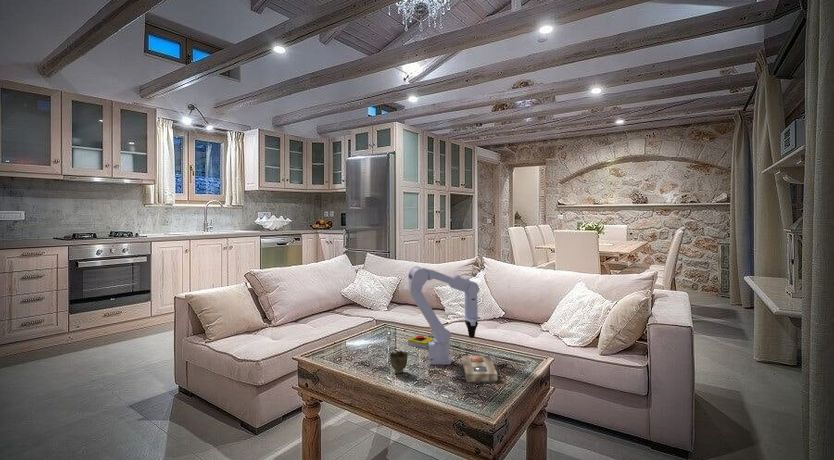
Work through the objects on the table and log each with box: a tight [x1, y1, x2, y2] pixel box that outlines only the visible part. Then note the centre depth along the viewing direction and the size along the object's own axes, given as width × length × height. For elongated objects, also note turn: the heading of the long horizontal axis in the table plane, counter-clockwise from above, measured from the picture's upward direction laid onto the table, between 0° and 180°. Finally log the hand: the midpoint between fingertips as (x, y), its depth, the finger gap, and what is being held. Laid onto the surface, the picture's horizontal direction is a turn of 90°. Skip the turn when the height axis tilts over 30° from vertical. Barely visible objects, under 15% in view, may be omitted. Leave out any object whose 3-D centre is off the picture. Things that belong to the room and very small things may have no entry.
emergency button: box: [407, 334, 434, 350], centre depth 201 cm, size 9×4×15 cm
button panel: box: [461, 355, 499, 383], centre depth 164 cm, size 12×20×3 cm, turn 178°
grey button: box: [475, 366, 486, 372], centre depth 159 cm, size 4×4×3 cm
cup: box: [389, 350, 408, 374], centre depth 165 cm, size 8×7×8 cm
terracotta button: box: [472, 355, 482, 362], centre depth 169 cm, size 4×4×3 cm
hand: (471, 337), depth 180 cm, fingers closed
